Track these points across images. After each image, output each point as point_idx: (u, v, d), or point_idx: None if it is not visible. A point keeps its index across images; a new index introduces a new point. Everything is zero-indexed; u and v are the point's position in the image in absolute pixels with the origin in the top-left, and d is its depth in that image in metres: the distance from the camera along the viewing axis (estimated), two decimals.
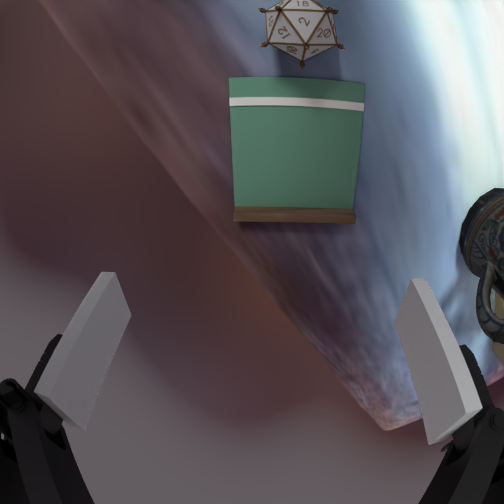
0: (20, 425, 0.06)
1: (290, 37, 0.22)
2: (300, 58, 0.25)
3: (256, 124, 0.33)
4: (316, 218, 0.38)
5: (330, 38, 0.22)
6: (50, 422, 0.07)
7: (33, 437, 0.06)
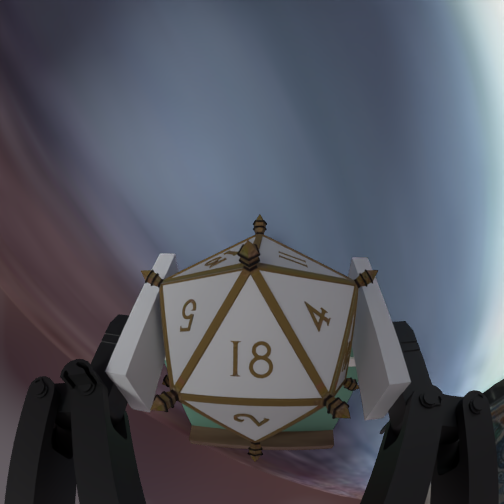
0: (84, 410, 0.07)
1: None
2: None
3: None
4: (286, 448, 0.27)
5: None
6: (117, 405, 0.08)
7: (98, 425, 0.07)
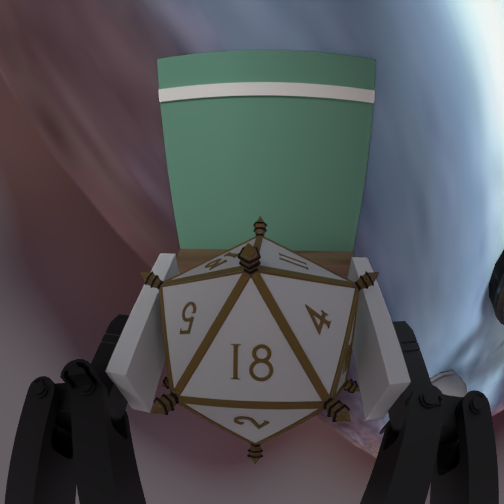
0: (84, 410, 0.07)
1: None
2: None
3: (201, 128, 0.21)
4: None
5: None
6: (117, 405, 0.08)
7: (98, 425, 0.07)
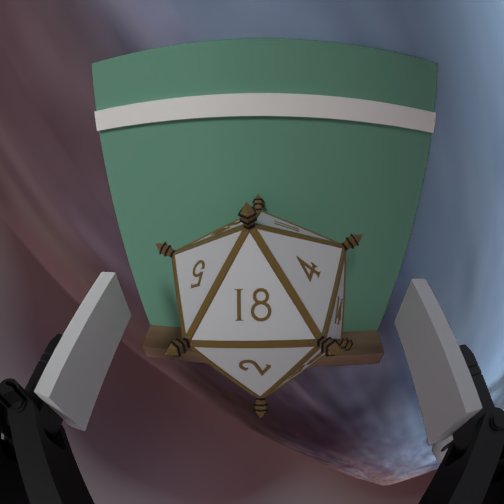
0: (20, 425, 0.06)
1: None
2: None
3: (161, 170, 0.13)
4: None
5: None
6: (50, 422, 0.07)
7: (33, 437, 0.06)
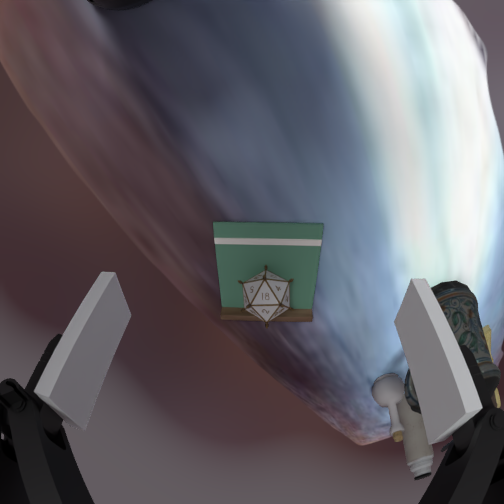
0: (20, 425, 0.06)
1: (257, 316, 0.44)
2: None
3: (236, 256, 0.46)
4: (282, 319, 0.51)
5: (284, 310, 0.44)
6: (50, 422, 0.07)
7: (33, 437, 0.06)
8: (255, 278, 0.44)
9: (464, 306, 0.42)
